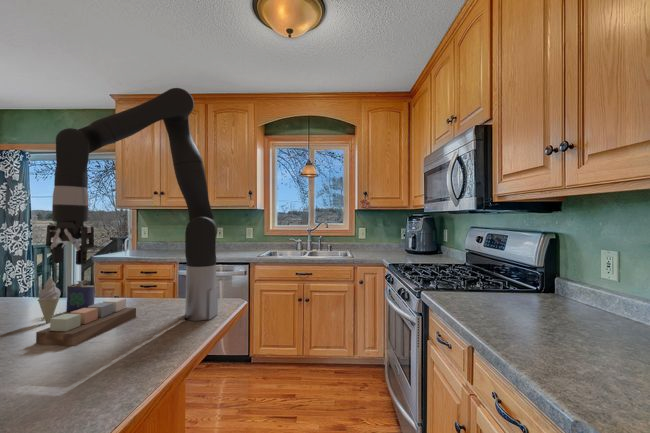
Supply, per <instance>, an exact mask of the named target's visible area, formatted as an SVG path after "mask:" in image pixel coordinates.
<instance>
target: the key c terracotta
mask: <svg viewBox="0 0 650 433" xmlns="http://www.w3.org/2000/svg"><path fill="white" fill-rule="evenodd" d="M69 314H81V324H87V323H89V322H92V321H94V320H97V319H98V308H82V309H79V310H75V311H72V312H69Z"/></svg>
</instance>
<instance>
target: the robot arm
mask: <svg viewBox="0 0 650 433" xmlns="http://www.w3.org/2000/svg"><path fill="white" fill-rule="evenodd" d="M194 107H195V101H194V98H193V96H192V95H191V93H190V92H188V91H187V90H185V89H183V88H180V87H172V88H170V89H167V90H166V91H164V92H162V93H161V94H159V95H157V96H155V97H154V98H151V99H149V100H148V101H145V102H143V103H140V104H139V105H136V106H134V107H131V108H128V109H126V110H122V111H119V112H116V113H114V114H110V115H107V116H105V117H101V118H99V119H96V120H95V121H92V122H90V124H88V125H86V126H83V127H81V128H78V129H77V128H74V127H73V128H72V127H70V128H64V129H62V130H60V131H58V133H57V134H56V136H55V157H56V158H55V163H56V166H55V171H54V182H53V183H54V184H53V185H54V187H53V193H52V206H51V207H52V208H51V211H52V212H51V220H52V221H53V222H56V224H48V225H47V226H46V237H45V238H46V239H45V246H46V247H49V248H50V249H51V250H52V255H51V257H52V258H51V259H52V263H53V264H60V263H63V261H64V247H65V245H66V244H67V243H70V244H71V245H73V246H74V247H75V265H77V266H81V265H86V264H87V259H88V258H87V257H88V250H89V249H93V248H94V247H95V232H94V230H95V228H94V225H85V224H84V223H85V222H88V221H89V220H88V219H89V191H88V190H89V188H88V187H89V186H88V185H89V184H88V183H89V182H88V181H89V175H88V163H89V154H91V153H94V152H95V151H97V150H99V149H101V148H103V147H106V146H108V145H111V144H114V143H117V142H119V141H123V140H124V139H127V138H129V137H131V136H133V135H136V134H138V133H139V132H140V131H142V130H144V129H146V128H148V127H149V126H152V125H153V124H155V123H157V122H160V121H162V120H163V123H164V127H165V129H166V133H167V137H168V140H169V147H170V153H171V159H172V165H173V168H174V169H173V170H174V174H175V179H176V182H177V184H178V187H179V189H180V192H181V196H183V200H184V202H185V204H186V208H187V211H188V219H189V221H188V223H187V225H186V226H185V227H186V228H185V232H184V233H185V234H184V236H185V237H184V240H185V242H184V248H185V249H184V252H185V253H184V254H185V255H184V256H185V260H186V266H185V268H186V270H185V272H186V273H185V311H184V312H185V319H186V320H188V321H191V322H193V321H194V322H195V321H196V322H197V321H205V320H211V319H213V318H214V317H216V316H217V315H218V309H219V308H218V304H219V286H218V285H217V283H216V282H217V252H216V242H217V239H216V238H217V235H218V225H217V223H216V219H215V217H214V215H213V214H214V213H213V210H212V206H211V204H210V199H209V189H208V182H207V177H206V176H207V175H206V171H205V164H204V162H203V158H202V155H201V153H200V150H199V148H198V147H197V145H196V144H195V141H194V139H193V136H192V133H191V128H190V118H189V117H190V115H191V114H192V113H193V110H194ZM87 241H88V242H87Z"/></svg>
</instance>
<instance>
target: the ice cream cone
mask: <svg viewBox="0 0 650 433" xmlns="http://www.w3.org/2000/svg"><path fill="white" fill-rule="evenodd" d="M56 285H57V284H56V283H55V282H54V279H53V278H52V276H51V275H49V277H48V279H47V280H46V283H45V284H44V285H43V289H41V290H40V292H39V293H38V299H37V301H38V304H39V307H40V310H41V313H42V316H43V318H44V321H45V324H50V319H51V318H54V314H55V312H56V308H57V306H58V303H59V301H60V299H61V297H60V296H61V290H60V289H59V288H58V287H56Z"/></svg>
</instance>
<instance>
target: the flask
mask: <svg viewBox="0 0 650 433" xmlns="http://www.w3.org/2000/svg"><path fill="white" fill-rule="evenodd" d="M76 282H77V283H73V284H69V285H67V289H66V290H67V291H66V292H67V293H66V310H65V313H68V312H69V313H70V312H73V311H76V310H79V309H82V308H88V306H91V305H94V304H95V290H96V287H95V285H84V283H85V280H77V281H76Z"/></svg>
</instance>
